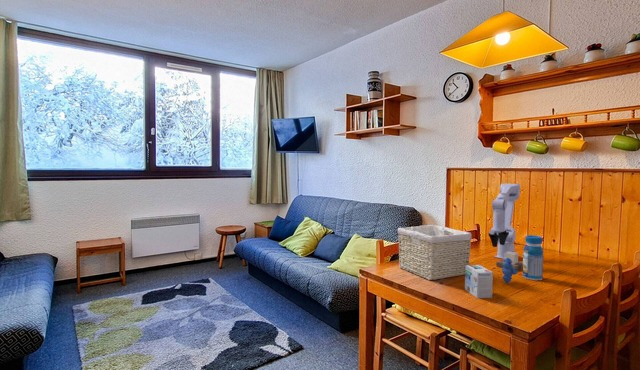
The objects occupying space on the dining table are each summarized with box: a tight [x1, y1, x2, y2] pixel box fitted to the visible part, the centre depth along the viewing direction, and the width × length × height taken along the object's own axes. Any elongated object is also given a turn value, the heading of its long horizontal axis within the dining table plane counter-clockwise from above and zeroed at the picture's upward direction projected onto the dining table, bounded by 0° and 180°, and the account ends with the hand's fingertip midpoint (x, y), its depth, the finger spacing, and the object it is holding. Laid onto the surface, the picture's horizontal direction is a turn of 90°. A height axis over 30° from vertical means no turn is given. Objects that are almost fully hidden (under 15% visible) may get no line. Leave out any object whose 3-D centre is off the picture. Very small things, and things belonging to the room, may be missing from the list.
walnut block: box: [495, 259, 523, 272], centre depth 186 cm, size 10×10×3 cm
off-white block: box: [503, 252, 519, 264], centre depth 186 cm, size 5×5×5 cm
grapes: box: [501, 258, 519, 284], centre depth 160 cm, size 12×7×12 cm, turn 144°
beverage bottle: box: [522, 234, 544, 281], centre depth 168 cm, size 8×8×20 cm
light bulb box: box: [464, 264, 494, 299], centre depth 148 cm, size 11×7×11 cm, turn 5°
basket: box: [397, 224, 473, 281], centre depth 179 cm, size 27×27×22 cm
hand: (498, 245), depth 193 cm, fingers open, 7 cm apart
